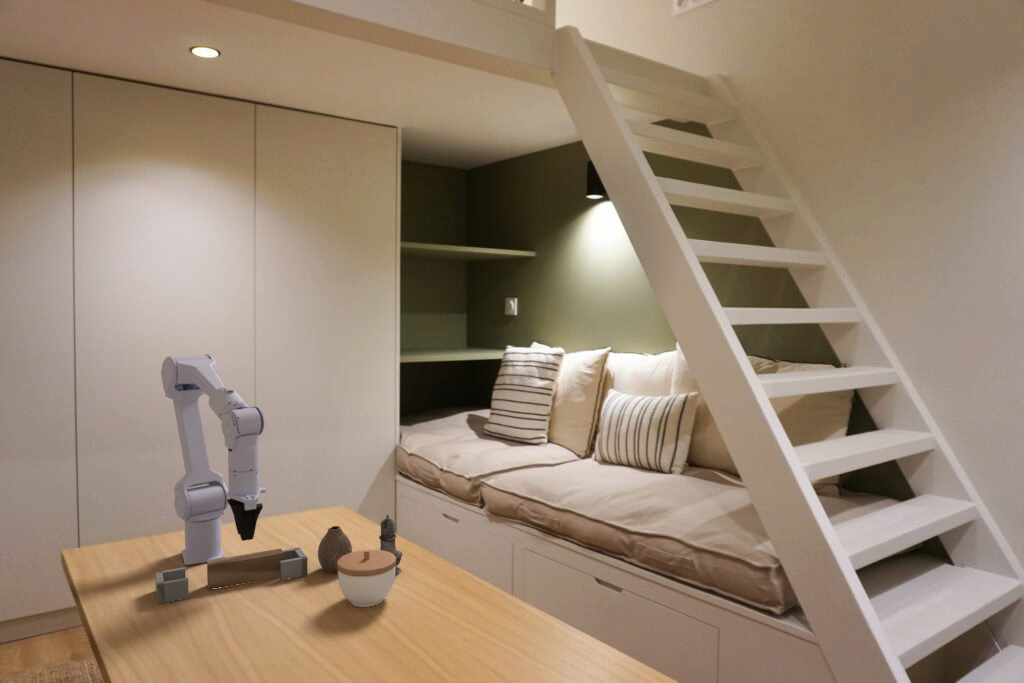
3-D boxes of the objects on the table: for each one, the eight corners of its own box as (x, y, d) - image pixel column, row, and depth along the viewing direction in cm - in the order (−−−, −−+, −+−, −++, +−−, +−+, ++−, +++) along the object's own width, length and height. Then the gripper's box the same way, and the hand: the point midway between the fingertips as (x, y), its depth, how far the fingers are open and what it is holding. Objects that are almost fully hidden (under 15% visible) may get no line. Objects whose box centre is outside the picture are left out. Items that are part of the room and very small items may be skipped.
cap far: (274, 568, 145) (273, 551, 145) (299, 564, 147) (299, 547, 147) (281, 580, 139) (280, 562, 139) (307, 575, 141) (307, 557, 141)
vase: (356, 563, 148) (356, 522, 147) (345, 576, 141) (345, 533, 140) (325, 562, 148) (324, 521, 148) (312, 575, 142) (312, 532, 141)
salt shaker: (407, 568, 145) (407, 511, 144) (394, 579, 139) (393, 520, 139) (382, 565, 147) (382, 509, 146) (368, 575, 141) (367, 517, 140)
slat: (207, 585, 137) (207, 561, 136) (281, 572, 144) (280, 548, 143) (209, 591, 134) (208, 565, 134) (284, 577, 141) (283, 552, 141)
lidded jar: (407, 594, 132) (407, 545, 132) (373, 617, 122) (373, 565, 122) (361, 584, 137) (360, 537, 136) (325, 606, 127) (324, 556, 126)
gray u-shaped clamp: (155, 590, 134) (155, 572, 134) (185, 585, 136) (184, 567, 136) (157, 604, 128) (157, 585, 128) (188, 598, 130) (188, 579, 130)
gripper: (272, 474, 133) (273, 543, 134) (258, 459, 146) (259, 523, 147) (232, 478, 130) (234, 550, 130) (222, 463, 142) (224, 528, 143)
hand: (245, 536), depth 138 cm, fingers open, 4 cm apart
